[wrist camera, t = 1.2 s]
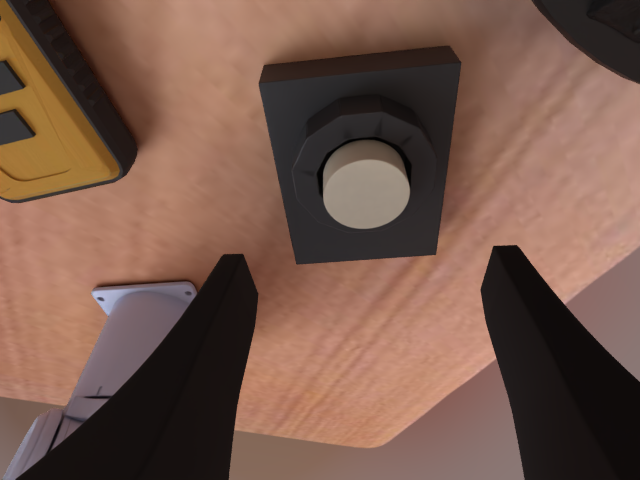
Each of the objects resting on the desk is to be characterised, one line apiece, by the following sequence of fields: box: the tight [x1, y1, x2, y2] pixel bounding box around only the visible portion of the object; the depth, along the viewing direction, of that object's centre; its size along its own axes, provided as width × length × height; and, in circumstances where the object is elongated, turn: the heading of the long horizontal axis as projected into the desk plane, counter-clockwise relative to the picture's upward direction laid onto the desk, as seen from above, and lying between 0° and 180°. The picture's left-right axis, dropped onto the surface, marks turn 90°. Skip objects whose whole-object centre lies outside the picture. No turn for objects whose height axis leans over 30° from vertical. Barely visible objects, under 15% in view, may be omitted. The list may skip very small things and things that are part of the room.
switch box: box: [259, 46, 461, 264], centre depth 22 cm, size 12×9×4 cm
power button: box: [323, 140, 410, 229], centre depth 19 cm, size 4×4×2 cm
